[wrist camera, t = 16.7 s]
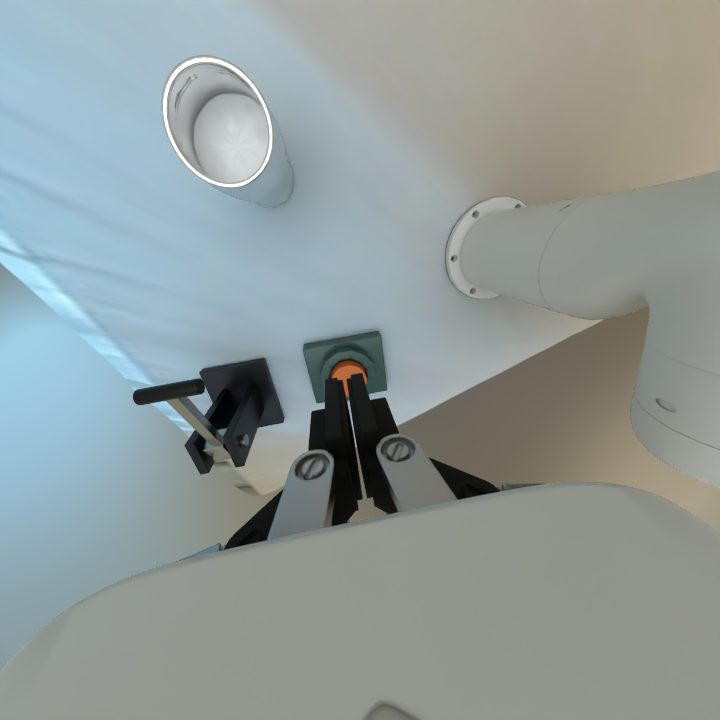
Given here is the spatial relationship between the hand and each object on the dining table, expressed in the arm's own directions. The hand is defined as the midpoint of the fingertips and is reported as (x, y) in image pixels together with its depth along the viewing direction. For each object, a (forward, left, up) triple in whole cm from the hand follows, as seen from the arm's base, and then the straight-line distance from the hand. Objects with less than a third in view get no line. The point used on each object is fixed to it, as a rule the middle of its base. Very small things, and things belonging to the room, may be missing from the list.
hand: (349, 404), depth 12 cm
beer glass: (+5, -14, -27) cm, 31 cm away
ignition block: (0, +11, -27) cm, 29 cm away
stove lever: (+16, +8, -16) cm, 24 cm away
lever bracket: (+16, +13, -27) cm, 34 cm away
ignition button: (0, +11, -23) cm, 26 cm away
